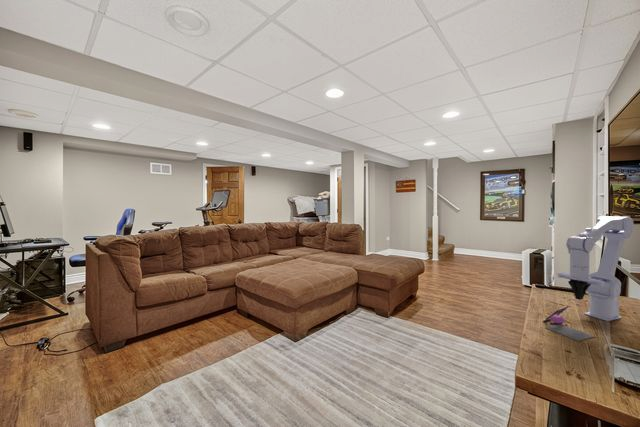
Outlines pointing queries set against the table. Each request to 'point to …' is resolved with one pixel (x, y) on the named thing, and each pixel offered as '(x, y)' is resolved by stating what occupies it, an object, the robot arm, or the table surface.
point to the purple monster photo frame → (557, 317)
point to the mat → (570, 332)
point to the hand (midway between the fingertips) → (579, 298)
